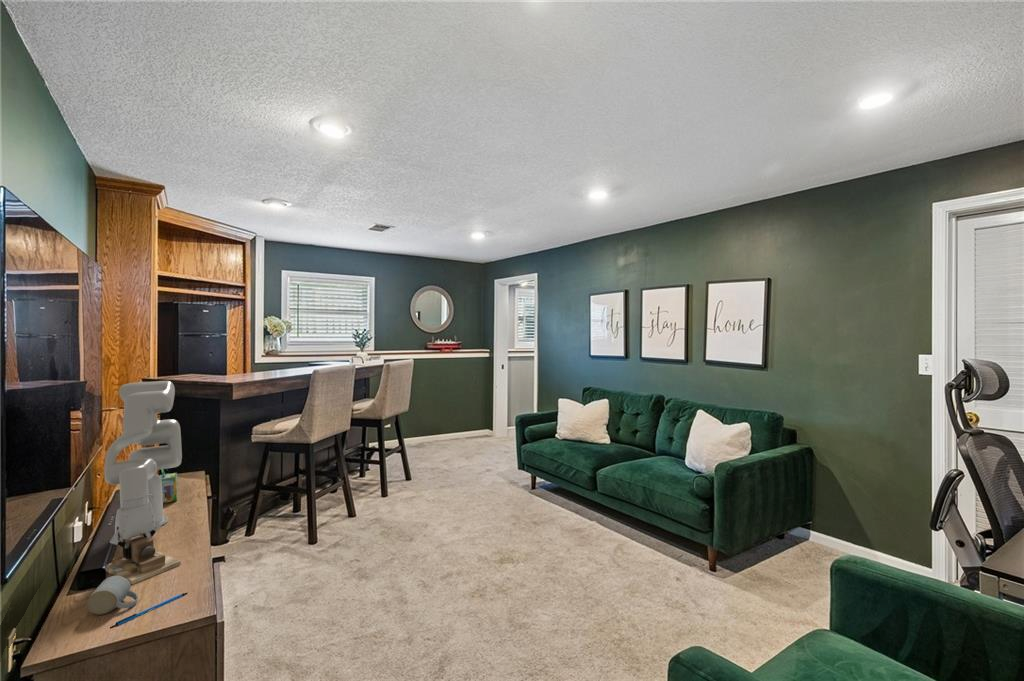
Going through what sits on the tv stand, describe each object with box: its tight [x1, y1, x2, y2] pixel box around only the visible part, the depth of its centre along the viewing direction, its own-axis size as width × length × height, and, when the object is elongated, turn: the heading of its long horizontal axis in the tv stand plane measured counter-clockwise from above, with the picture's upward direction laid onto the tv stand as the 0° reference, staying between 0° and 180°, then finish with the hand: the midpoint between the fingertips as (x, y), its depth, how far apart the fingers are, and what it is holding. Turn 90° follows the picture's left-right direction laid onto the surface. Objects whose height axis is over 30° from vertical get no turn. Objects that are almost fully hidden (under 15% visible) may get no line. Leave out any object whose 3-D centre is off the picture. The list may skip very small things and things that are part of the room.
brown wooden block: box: [118, 535, 156, 563], centre depth 161 cm, size 14×4×6 cm, turn 64°
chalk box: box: [158, 469, 179, 504], centre depth 223 cm, size 9×9×15 cm
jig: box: [107, 550, 182, 585], centre depth 160 cm, size 20×14×4 cm
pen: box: [109, 592, 188, 629], centre depth 136 cm, size 1×19×1 cm, turn 150°
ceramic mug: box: [86, 575, 139, 616], centre depth 137 cm, size 11×8×8 cm
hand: (137, 554), depth 162 cm, fingers closed on brown wooden block, 4 cm apart
